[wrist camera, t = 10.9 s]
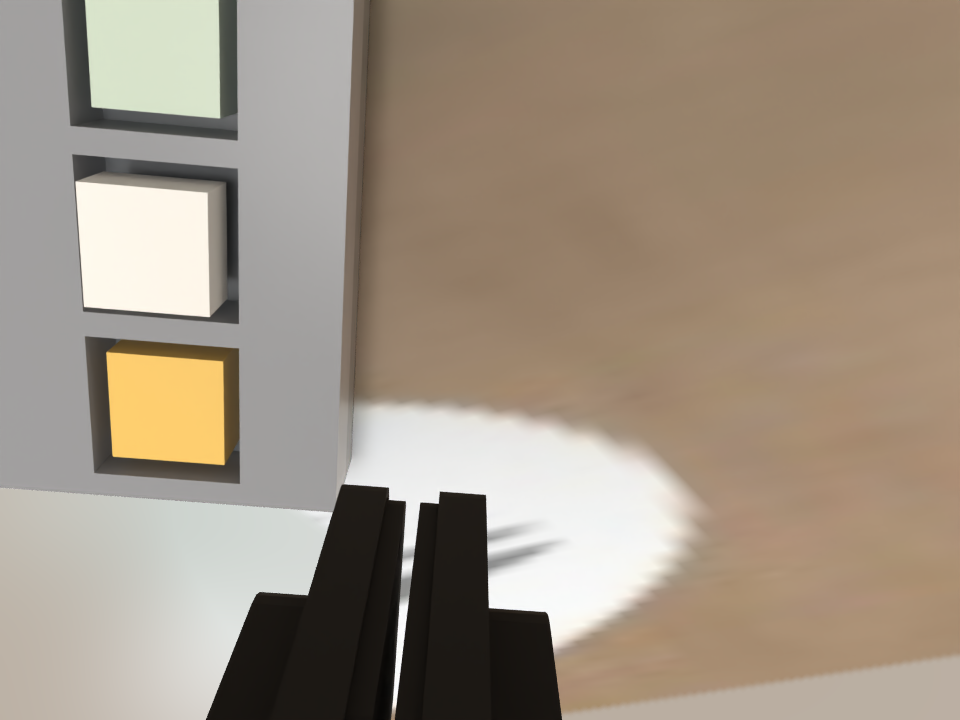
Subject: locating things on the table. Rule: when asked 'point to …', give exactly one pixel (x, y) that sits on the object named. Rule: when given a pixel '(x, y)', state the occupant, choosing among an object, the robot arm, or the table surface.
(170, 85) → the sage key
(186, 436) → the amber key
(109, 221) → the middle key
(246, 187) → the key console
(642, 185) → the table surface
